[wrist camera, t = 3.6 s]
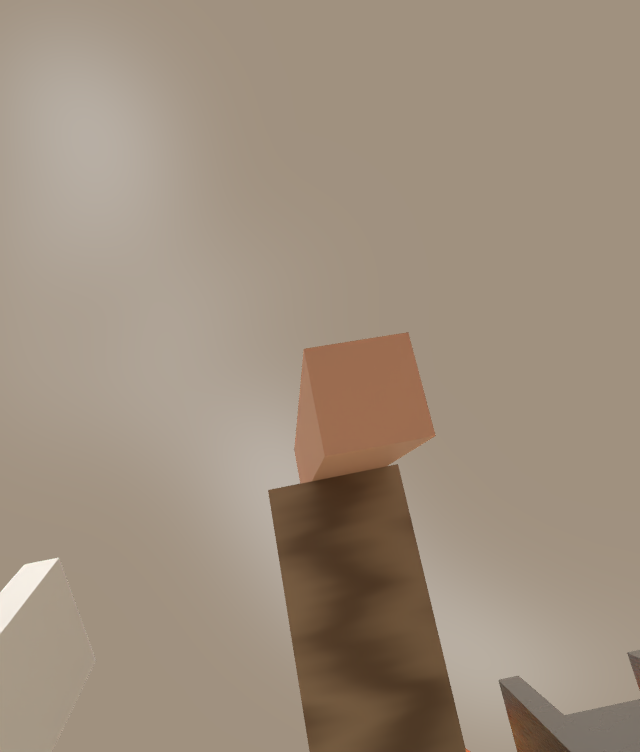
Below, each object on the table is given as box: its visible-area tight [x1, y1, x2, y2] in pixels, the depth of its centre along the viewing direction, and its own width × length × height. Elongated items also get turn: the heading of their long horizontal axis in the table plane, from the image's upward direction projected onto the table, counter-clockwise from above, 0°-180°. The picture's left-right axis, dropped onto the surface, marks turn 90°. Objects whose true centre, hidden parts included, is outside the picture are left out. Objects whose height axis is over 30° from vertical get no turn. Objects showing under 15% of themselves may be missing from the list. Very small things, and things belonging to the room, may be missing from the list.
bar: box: [295, 332, 435, 484], centre depth 29 cm, size 4×24×4 cm, turn 4°
